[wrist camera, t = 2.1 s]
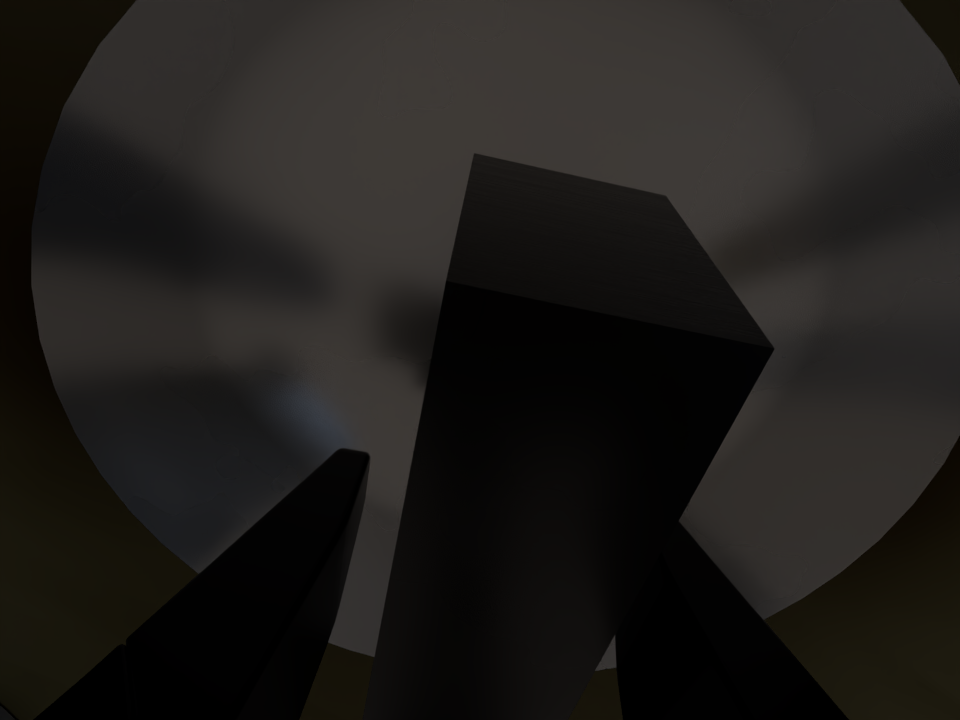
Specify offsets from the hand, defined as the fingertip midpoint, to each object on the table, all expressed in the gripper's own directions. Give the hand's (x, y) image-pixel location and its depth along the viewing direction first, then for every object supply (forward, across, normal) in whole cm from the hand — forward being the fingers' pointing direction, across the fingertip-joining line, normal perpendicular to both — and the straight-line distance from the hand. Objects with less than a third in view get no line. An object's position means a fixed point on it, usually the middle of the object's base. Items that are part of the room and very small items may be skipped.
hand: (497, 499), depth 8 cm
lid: (+3, 0, 0) cm, 3 cm away
